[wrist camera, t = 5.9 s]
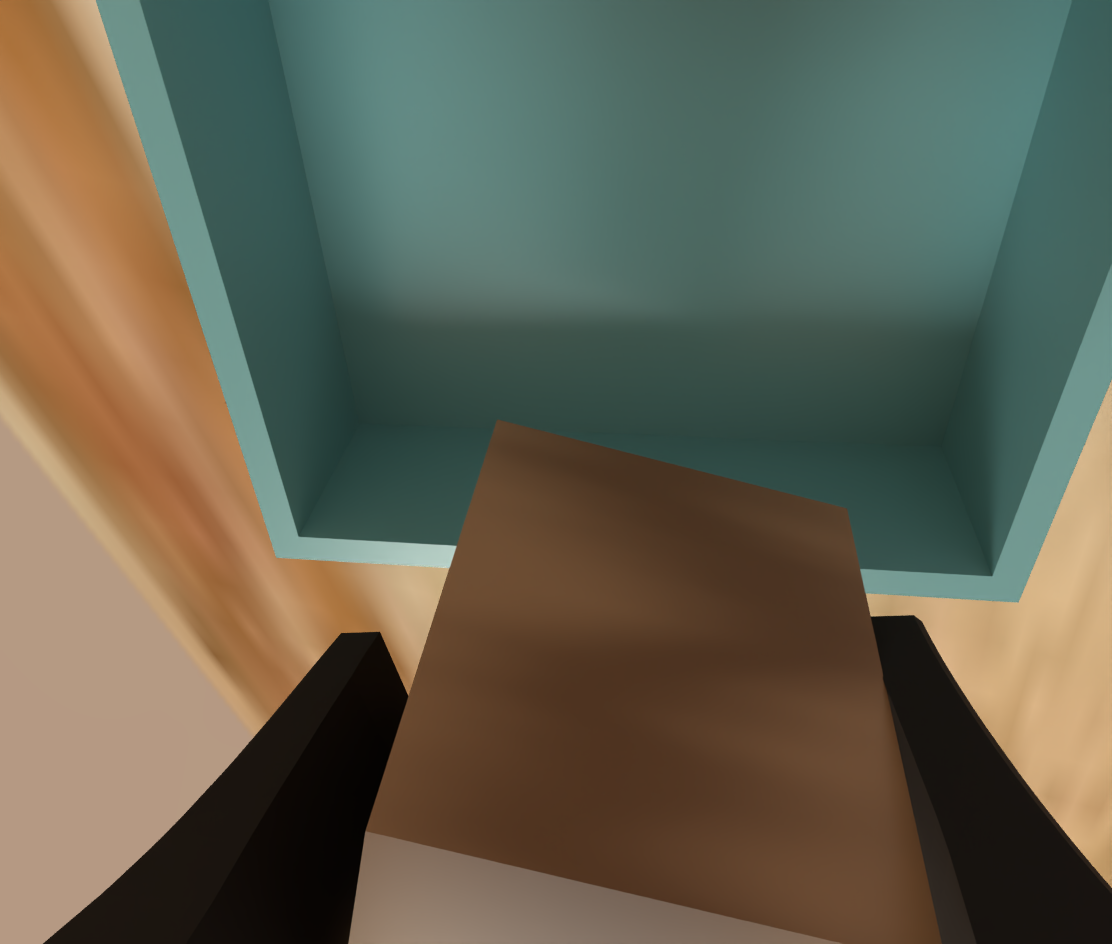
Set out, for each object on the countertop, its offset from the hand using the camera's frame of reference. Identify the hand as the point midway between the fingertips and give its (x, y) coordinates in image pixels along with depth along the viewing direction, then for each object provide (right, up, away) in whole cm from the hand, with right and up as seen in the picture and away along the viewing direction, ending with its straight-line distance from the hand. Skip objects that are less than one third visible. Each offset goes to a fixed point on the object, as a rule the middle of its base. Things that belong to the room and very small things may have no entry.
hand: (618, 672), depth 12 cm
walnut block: (0, +1, +1) cm, 2 cm away
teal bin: (+1, +8, +4) cm, 9 cm away
